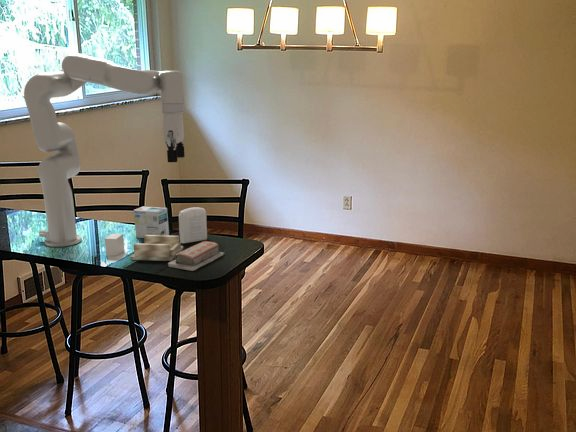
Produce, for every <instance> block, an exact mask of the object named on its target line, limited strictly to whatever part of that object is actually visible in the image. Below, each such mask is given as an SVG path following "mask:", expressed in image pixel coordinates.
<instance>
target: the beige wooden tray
mask: <svg viewBox="0 0 576 432" xmlns="http://www.w3.org/2000/svg"><path fill="white" fill-rule="evenodd" d="M143 239H144V243H136V242H134V243H133V254H131V256H130V260H131V261H133V260H134V261H159V262H160V261H164V262H168V261H169V262H171V261H173V260H175V255H176V254H177V253H179V252H181V251H184V245H182V243H181V242H180V235H170V234H169V235H145V236H144V238H143Z"/></svg>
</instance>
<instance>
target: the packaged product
mask: <svg viewBox="0 0 576 432" xmlns="http://www.w3.org/2000/svg"><path fill="white" fill-rule="evenodd" d="M224 255H225V252H222V251H220V247H219V244H218V243H217V242H216V241H210V240H209V241H208V240H202V241H201V242H199V243H196V244H194V245H191V246H190V247H188V248H185V249H183V250H182V251H181V252H179V253H177V254H176V255H175V258H174V259H173V260H172V261H169V262H168V263H167V265H168V267H169V268H173V269H174V268H175V269H180V270H186V271H191V272H193V271H194V272H195V271H197V269H199V268H201V267H203V266H206V265H207V264H210V263H212V262H213V261H215V260H217V259H218V258H220V257H222V256H224Z"/></svg>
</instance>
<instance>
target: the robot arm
mask: <svg viewBox="0 0 576 432" xmlns="http://www.w3.org/2000/svg"><path fill="white" fill-rule="evenodd" d="M87 83H89V84H95V85H100V86H104V87H108V88H110V89H115V90H117V91H123V92H127V93H132V94H137V95H150V94H155V93H156V94H157V93H160V102H161V103H160V104H161V114H162V115H163V121H162V124H163V128H162V129H163V131H162V133H163V135H162V136H163V143H164V144H166V155H167V163H177V162H178V159H179V158H181V159H182V158H185V156H186V155H185V145H184V144H185V142H184V139H185V128H184V126H185V125H184V117H183V114H185V113H186V110H185V94H184V93H185V90H184V74H183V73H182V71H180V70H162V71H160V70H156V69H155V70H154V69H153V70H152V69H143V70H139V69H135V68H129V67H124V66H121V65H118V64H116V63H115V62H114V61H113V60H110V59H103V58H99V57H94V56H93V55H91V54H89V53H69V54H68V55H66V56H65V57H64V58H63V59H62V61H61V69H60V70H59V71H45V72H39V73H37V74H35V75H33V76H32V77H31V78H30V79H28V81H27V82H26V84H25V86H24V89H23V90H24V91H23V96H24V101H25V106H26V108H27V112H28V115H29V119H30V124H31V129H32V133H33V138H34V142H35V145H36V147H37V148H38V149H39V150H40V152H43V153H51V152H52V153H53V154H52V155H49V156H47V157H45V158H43V159H42V161H40V163H39V165H38V167H37V173H38V177H39V181H40V184H41V189H42V192H43V193H42V194H43V202H44V208H45V209H44V210H45V215H46V224H47V225H46V226H47V230H42V229H41V230H39V232H38V233H39V234H38V236H39V238H45V240H44V245H45V246H47V247H52V248H61V247H62V248H63V247H70V246H73V245H76V244H79V243H81V242H82V240H83V238H82V236H81V235H79V234H77V233H78V232H77V226H76V225H77V224H76V216H75V207H74V198H73V197H74V196H73V191H72V188H71V185H70V182H69V179H72V178H74V177H76V176H77V175H78V174H79V172H80V170H81V167H82V165H81V158H80V153H79V148H78V145H77V144H78V143H77V140H76V136H75V133H74V131H73V129H72V128H71V127H70V126H69V125H68V124H66V123H65V122H58V119H57V113H56V110H55V108H54V106H53V104H52V102H51V99H52V98H60V97H66V96H69V95H71V94H73V93H75V92H76V91H77V90H79V89H80V88H82V86H85V84H87Z"/></svg>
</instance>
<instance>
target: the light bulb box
mask: <svg viewBox="0 0 576 432" xmlns="http://www.w3.org/2000/svg"><path fill="white" fill-rule="evenodd" d="M133 218H134V219H133V220H134V228H135V229H134V231H135V239H137V238H139V239H144V236H145V235H170V227H169V217H168V208H167V207H157V206H156V207H155V206H144V205H143V206H141V207H138V208H136V209H133Z"/></svg>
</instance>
